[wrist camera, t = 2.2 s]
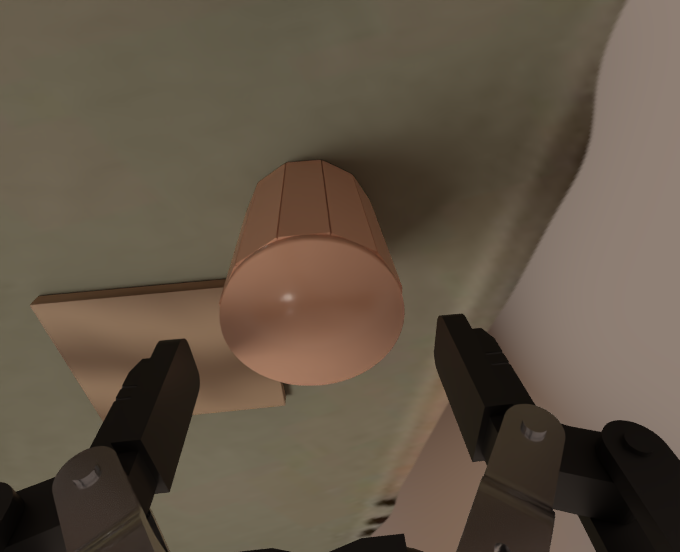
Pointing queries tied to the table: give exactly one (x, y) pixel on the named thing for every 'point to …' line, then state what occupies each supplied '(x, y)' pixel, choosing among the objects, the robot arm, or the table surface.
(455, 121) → the table surface
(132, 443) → the robot arm
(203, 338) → the walnut mat
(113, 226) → the table surface
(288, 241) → the faceted terracotta cylinder
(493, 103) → the table surface
